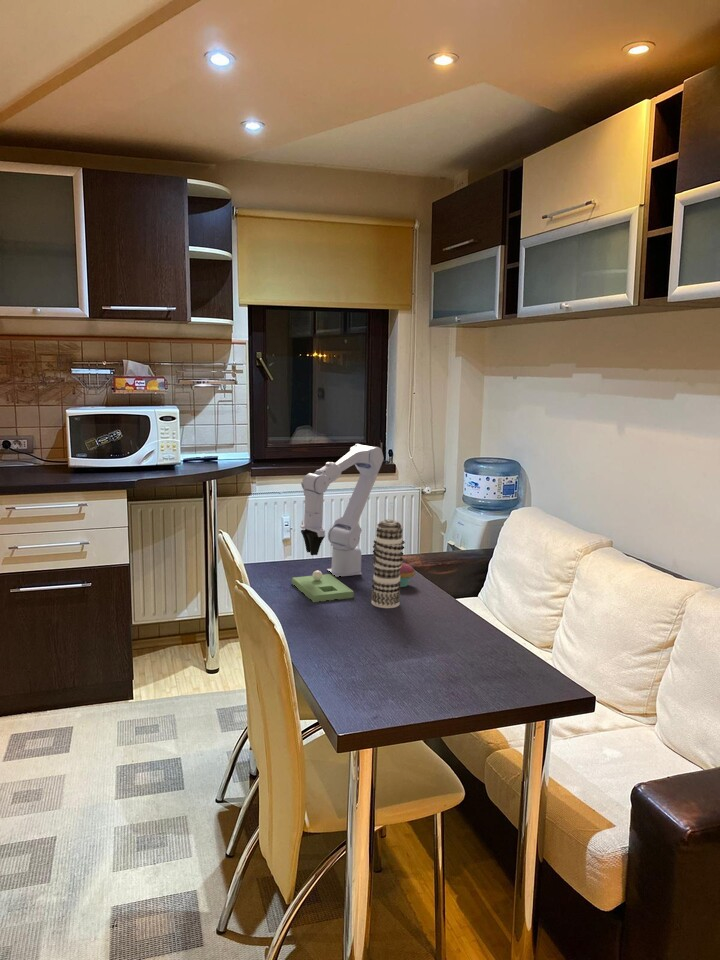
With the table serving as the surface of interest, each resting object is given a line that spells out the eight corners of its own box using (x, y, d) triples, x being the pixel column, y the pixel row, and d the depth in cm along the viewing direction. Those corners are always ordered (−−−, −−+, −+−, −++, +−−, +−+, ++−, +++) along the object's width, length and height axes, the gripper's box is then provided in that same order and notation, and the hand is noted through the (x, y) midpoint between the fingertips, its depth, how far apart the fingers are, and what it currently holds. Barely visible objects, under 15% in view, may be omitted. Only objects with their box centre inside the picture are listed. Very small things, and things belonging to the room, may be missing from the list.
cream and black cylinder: (401, 609, 209) (406, 526, 205) (369, 607, 209) (374, 524, 205) (400, 599, 218) (405, 518, 214) (370, 597, 218) (374, 517, 214)
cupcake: (382, 581, 234) (384, 546, 232) (405, 579, 238) (408, 544, 235) (395, 590, 226) (397, 553, 224) (418, 587, 230) (421, 551, 228)
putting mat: (329, 579, 233) (329, 573, 233) (353, 597, 217) (353, 591, 217) (291, 583, 228) (292, 577, 227) (313, 602, 212) (313, 595, 211)
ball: (319, 578, 228) (320, 568, 227) (323, 581, 225) (324, 571, 224) (310, 579, 226) (310, 569, 226) (314, 582, 224) (314, 572, 223)
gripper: (293, 507, 231) (292, 548, 233) (310, 517, 218) (308, 560, 221) (313, 506, 234) (312, 546, 237) (331, 516, 221) (329, 558, 224)
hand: (312, 553), depth 229 cm, fingers open, 3 cm apart
